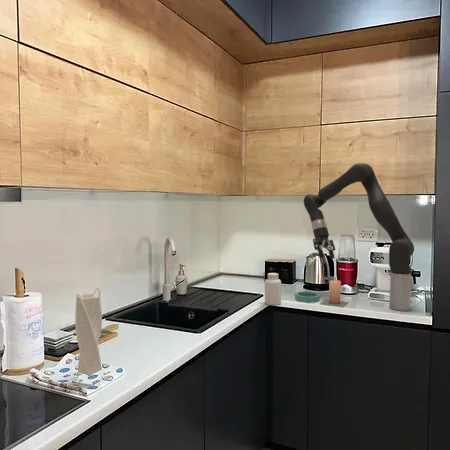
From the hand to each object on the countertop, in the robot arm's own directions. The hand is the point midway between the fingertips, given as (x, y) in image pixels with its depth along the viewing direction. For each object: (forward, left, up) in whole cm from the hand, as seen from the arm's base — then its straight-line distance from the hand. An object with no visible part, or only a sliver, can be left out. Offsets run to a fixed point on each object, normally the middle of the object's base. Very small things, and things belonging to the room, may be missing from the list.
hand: (327, 258), depth 225 cm
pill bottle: (+20, +24, -22) cm, 38 cm away
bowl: (+7, +9, -21) cm, 24 cm away
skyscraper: (+32, +132, -22) cm, 137 cm away
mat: (-7, +10, -21) cm, 24 cm away
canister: (-7, +10, -21) cm, 24 cm away
